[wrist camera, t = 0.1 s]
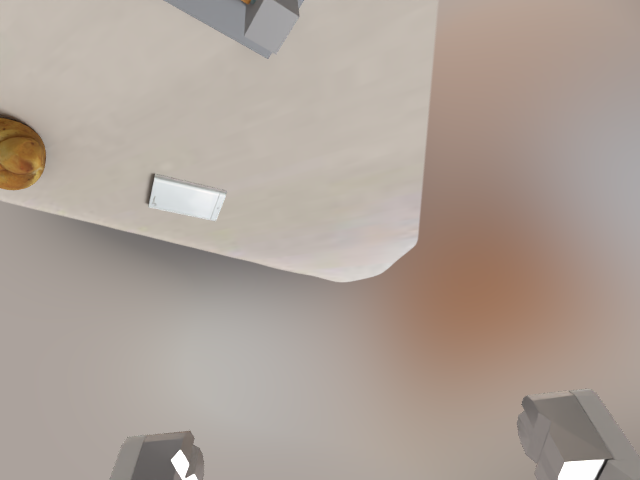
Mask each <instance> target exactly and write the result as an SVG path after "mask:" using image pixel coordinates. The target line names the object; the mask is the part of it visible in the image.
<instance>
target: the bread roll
mask: <svg viewBox="0 0 640 480" xmlns="http://www.w3.org/2000/svg"><path fill="white" fill-rule="evenodd" d="M45 162H46V151H45V146H44V144H43V141H42V139H41V138H40V136H39V135H38V134H37V133H36V132H35V131H33V130H32V129H31V128H30V127H28V126H26V125H24V124H22V123H20V122H17V121H14V120H10V119H5V118H0V188H1V189H6V190H20V189H24V188H27V187H29V186H31V185H33V184H34V183H35V182H36V181H37V180H38V179H39V178H40V176H41V175H42V173H43V170H44V168H45Z"/></svg>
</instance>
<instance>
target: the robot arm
mask: <svg viewBox="0 0 640 480" xmlns="http://www.w3.org/2000/svg"><path fill="white" fill-rule="evenodd" d="M522 406H523V408H524V410H525V411H523V412H522V413H521V414H520V415H519V416H518V421H517V427H518V435H519V438H520V441H521V444H522V447H523V449H524V451H525V454H526V455H527V456H528V457H529V458H531V459H532V460H533V461H534V462H535V463H537V465H536V470H535V476H536V478H537V480H640V456H639V455H638V453H637V452H636V450H635V449H634V447H633V446H632V445H631V443H630V442H629V440H628V439H627V437H626V436H625V434H624V433H623V431H622V430H621V428H620V427H619V425H618V424H617V422H616V421H615V420H614V418H613V417H612V415H611V414H610V412H609V411H608V409H607V408H606V406H605V405H604V403H603V402H602V400H601V399H600V397H599V396H598V394H597V393H596V392H594V391H593V390H591V389H581V390H571V391H560V392H551V393H543V394H535V395H527V396H526V397H524V398H523V401H522ZM193 443H194V436H193V435H192V433H191V431H184V432H174V433H164V434H155V435H141V436H133V437H127V439H126V440H125V441H124V443H123V444H122V446H121V449H120V452H119V454H118V458H117V460H116V463H115V466H114V468H113V471H112V474H111V477H110V480H203V476H204V460H203V455H202V452H201V450H200V448H199V447H197V446H195V445H193Z"/></svg>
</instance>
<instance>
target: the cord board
mask: <svg viewBox="0 0 640 480" xmlns="http://www.w3.org/2000/svg"><path fill="white" fill-rule="evenodd" d="M164 1H166V2H168V3H169V4H171V5H173V6H175V7H177V8H178V9H180V10H182V11H184V12H185V13H187V14H189V15H191V16H193V17H194V18H196V19H198V20H200V21H201V22H203V23H205V24H207V25H209V26H210V27H212V28H214V29H216V30H217V31H219V32H221V33H223V34H225V35H226V36H228V37H230V38H232V39H233V40H235V41H237V42H239V43H240V44H242V45H244V46H246V47H248V48H249V49H251V50H253V51H255V52H256V53H258V54H260V55H262V56H264V57H265V58H267V59H268V58H269V57H270V55H271V53H274V54H277V52H278V50H279V49H280V47H281V46H282V44H283V42H284V41H285V39H286V38H287V36H288V34H289V33H290V31H291V30H292V28H293V26H294V25H295V23H296V21H297V20H298V18H299V8H300V6H301V4H302V3H303V1H304V0H164Z"/></svg>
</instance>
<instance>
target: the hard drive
mask: <svg viewBox="0 0 640 480" xmlns="http://www.w3.org/2000/svg"><path fill="white" fill-rule="evenodd" d="M226 193H227V191H225V190H221V189H217V188H213V187H208V186H204V185H200V184H196V183H192V182H187V181H183V180H179V179H175V178H170V177H166V176H162V175H158V174H155V176H154V181H153V186H152V191H151V196H150V201H149V205H148V207H149V208H154V209H159V210H164V211H169V212H173V213H178V214H183V215H188V216H193V217H197V218H202V219H207V220H212V221H216V220H217V217H218V215H219V212H220V209H221V207H222V204H223V202H224V199H225V197H226Z"/></svg>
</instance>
